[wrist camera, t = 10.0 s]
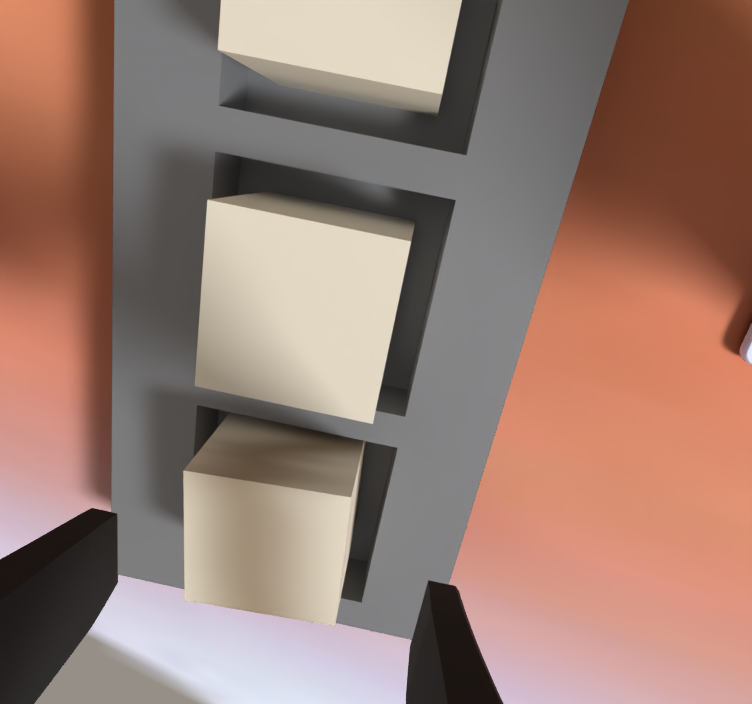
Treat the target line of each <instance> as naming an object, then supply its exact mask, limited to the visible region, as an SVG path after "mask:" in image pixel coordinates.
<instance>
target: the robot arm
mask: <svg viewBox="0 0 752 704" xmlns="http://www.w3.org/2000/svg"><path fill="white" fill-rule="evenodd" d="M739 352H740V357H741V358H742V359H743V360H744V361H746V362H747V363H749V364H751V365H752V323H751V325H750V328H749V330H748V332H747V334H746V336H745V338H744V340H743V342H742V345H741V347H740V351H739ZM117 583H118V518H117V513H112V512H108V511H103V510H98V509H94V508H91V509H89V510H87V511H86V512H84V513H82V514H80V515H78V516H76V517H75V518H73V519H71V520H69V521H68V522H66V523H64V524H62V525H61V526H59V527H57V528H55V529H54V530H52V531H50V532H48V533H47V534H45V535H43V536H41V537H40V538H38V539H36V540H34V541H33V542H31V543H29V544H27V545H25V546H24V547H22V548H20V549H18V550H16V551H15V552H13V553H11V554H9V555H7V556H6V557H4V558H2V559H0V704H34V703H35V702H36V700H37V699H38V698H39V697H40V695H41V694H42V693H43V691H44V690H45V688H46V687H47V686H48V685H49V683H50V682H51V681H52V679H53V678H54V677H55V675H56V674H57V673H58V671H59V670H60V669H61V667H62V666H63V665H64V663H65V662H66V661H67V659H68V658H69V657H70V655H71V654H72V653H73V651H74V650H75V649H76V647H77V646H78V644H79V643H80V642H81V641H82V639H83V638H84V637H85V635H86V634H87V632H88V631H89V630H90V628H91V627H92V625H93V624H94V622H95V620H96V619H97V617H98V615H99V614H100V612H101V611H102V609H103V607H104V606H105V604H106V602H107V600H108V599H109V597H110V595H111V593H112V592H113V590H114V588H115V586H116V585H117ZM406 704H503V702H502V700H501V698H500V695H499V693H498V691H497V689H496V687H495V684H494V682H493V680H492V678H491V675H490V673H489V671H488V668H487V666H486V664H485V661H484V659H483V657H482V654H481V652H480V649H479V647H478V644H477V642H476V639H475V637H474V634H473V631H472V629H471V626H470V623H469V621H468V618H467V615H466V612H465V609H464V606H463V603H462V600H461V597H460V593H459V591H458V589H457V588H456V586H453V585H448V584H444V583H439V582H434V581H430V580H428V583H427V587H426V591H425V594H424V598H423V601H422V605H421V609H420V612H419V616H418V620H417V623H416V627H415V631H414V634H413V638H412V641H411V645H410V654H409V665H408V677H407V690H406Z"/></svg>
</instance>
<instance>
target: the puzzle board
mask: <svg viewBox="0 0 752 704" xmlns="http://www.w3.org/2000/svg"><path fill="white" fill-rule="evenodd" d="M628 2H629V0H114V142H113V316H112V491H111V512H112V513H117V518H118V575H123V576H127V577H132V578H136V579H141V580H145V581H150V582H154V583H159V584H163V585H168V586H172V587H177V588H181V589H185V584H184V485H183V470H184V469H185V468H186V467H187V465H188V464H189V463H190V462H191V460H192V459H193V458H194V457H195V455H196V454H197V453H198V452H199V450H200V449H201V448H202V447H203V445H204V444H205V443H206V442H207V440H208V439H209V438H210V437H211V436H212V434H213V433H214V432H215V431H216V429H217V428H218V427H219V426H220V424H221V423H222V422H223V421H224V419H225V418H226V417H227V416H228V414H229V413H230V412H232V413H237V414H241V415H246V416H251V417H256V418H260V419H265V420H270V421H274V422H279V423H284V424H288V425H293V426H298V427H302V428H307V429H312V430H316V431H321V432H326V433H330V434H335V435H340V436H344V437H349V438H354V439H358V440H363V441H366V446H365V454H364V461H363V469H362V476H361V484H360V491H359V499H358V507H357V514H356V522H355V528H354V533H353V538H352V543H351V548H350V553H349V558H348V563H347V568H346V573H345V578H344V583H343V588H342V593H341V598H340V603H339V608H338V613H337V618H336V623H339V624H343V625H348V626H352V627H357V628H361V629H366V630H370V631H375V632H379V633H384V634H388V635H393V636H397V637H402V638H406V639H411V640H412V638H413V634H414V631H415V627H416V623H417V620H418V616H419V612H420V609H421V605H422V601H423V598H424V594H425V591H426V587H427V583H428V580H430V581H434V582H439V583H444V584H448V585H449V582H450V578H451V575H452V572H453V569H454V565H455V562H456V559H457V556H458V553H459V549H460V546H461V543H462V540H463V536H464V533H465V530H466V527H467V523H468V520H469V517H470V514H471V510H472V507H473V504H474V501H475V497H476V494H477V491H478V488H479V485H480V481H481V478H482V475H483V472H484V468H485V465H486V462H487V459H488V455H489V452H490V449H491V446H492V442H493V439H494V436H495V433H496V429H497V426H498V423H499V420H500V416H501V413H502V410H503V407H504V404H505V400H506V397H507V394H508V391H509V387H510V384H511V381H512V378H513V374H514V371H515V368H516V365H517V361H518V358H519V355H520V352H521V348H522V345H523V342H524V339H525V336H526V332H527V329H528V326H529V323H530V319H531V316H532V313H533V310H534V306H535V303H536V300H537V297H538V293H539V290H540V287H541V284H542V280H543V277H544V274H545V271H546V268H547V264H548V261H549V258H550V255H551V251H552V248H553V245H554V242H555V238H556V235H557V232H558V229H559V225H560V222H561V219H562V216H563V212H564V209H565V206H566V203H567V200H568V196H569V193H570V190H571V187H572V183H573V180H574V177H575V174H576V170H577V167H578V164H579V161H580V157H581V154H582V151H583V148H584V144H585V141H586V138H587V135H588V132H589V128H590V125H591V122H592V119H593V115H594V112H595V109H596V106H597V102H598V99H599V96H600V93H601V89H602V86H603V83H604V80H605V76H606V73H607V70H608V67H609V63H610V60H611V57H612V54H613V51H614V47H615V44H616V41H617V38H618V34H619V31H620V28H621V25H622V21H623V18H624V15H625V12H626V8H627V5H628Z"/></svg>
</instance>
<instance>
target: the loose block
mask: <svg viewBox="0 0 752 704" xmlns="http://www.w3.org/2000/svg"><path fill="white" fill-rule="evenodd" d="M365 446H366V441H363V440H358V439H354V438H349V437H344V436H340V435H335V434H330V433H326V432H321V431H316V430H312V429H307V428H302V427H298V426H293V425H288V424H284V423H279V422H274V421H270V420H265V419H260V418H256V417H251V416H246V415H241V414H237V413H232V412H230V413H229V414H228V416H227V417H226V418H225V419H224V421H223V422H222V423H221V424H220V426H219V427H218V428H217V429H216V431H215V432H214V433H213V434H212V436H211V437H210V438H209V439H208V440H207V442H206V443H205V444H204V445H203V447H202V448H201V449H200V450H199V452H198V453H197V454H196V455H195V457H194V458H193V459H192V460H191V462H190V463H189V464H188V465H187V467H186V468H185V469H184V470H183V485H184V584H185V600H186V601H192V602H198V603H204V604H210V605H215V606H221V607H227V608H233V609H239V610H244V611H250V612H256V613H262V614H268V615H273V616H279V617H285V618H291V619H296V620H302V621H308V622H314V623H320V624H325V625H331V626H335V623H336V618H337V613H338V608H339V603H340V598H341V593H342V588H343V583H344V578H345V573H346V568H347V563H348V558H349V553H350V548H351V543H352V538H353V533H354V528H355V522H356V514H357V507H358V499H359V491H360V484H361V476H362V469H363V461H364V454H365Z"/></svg>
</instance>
